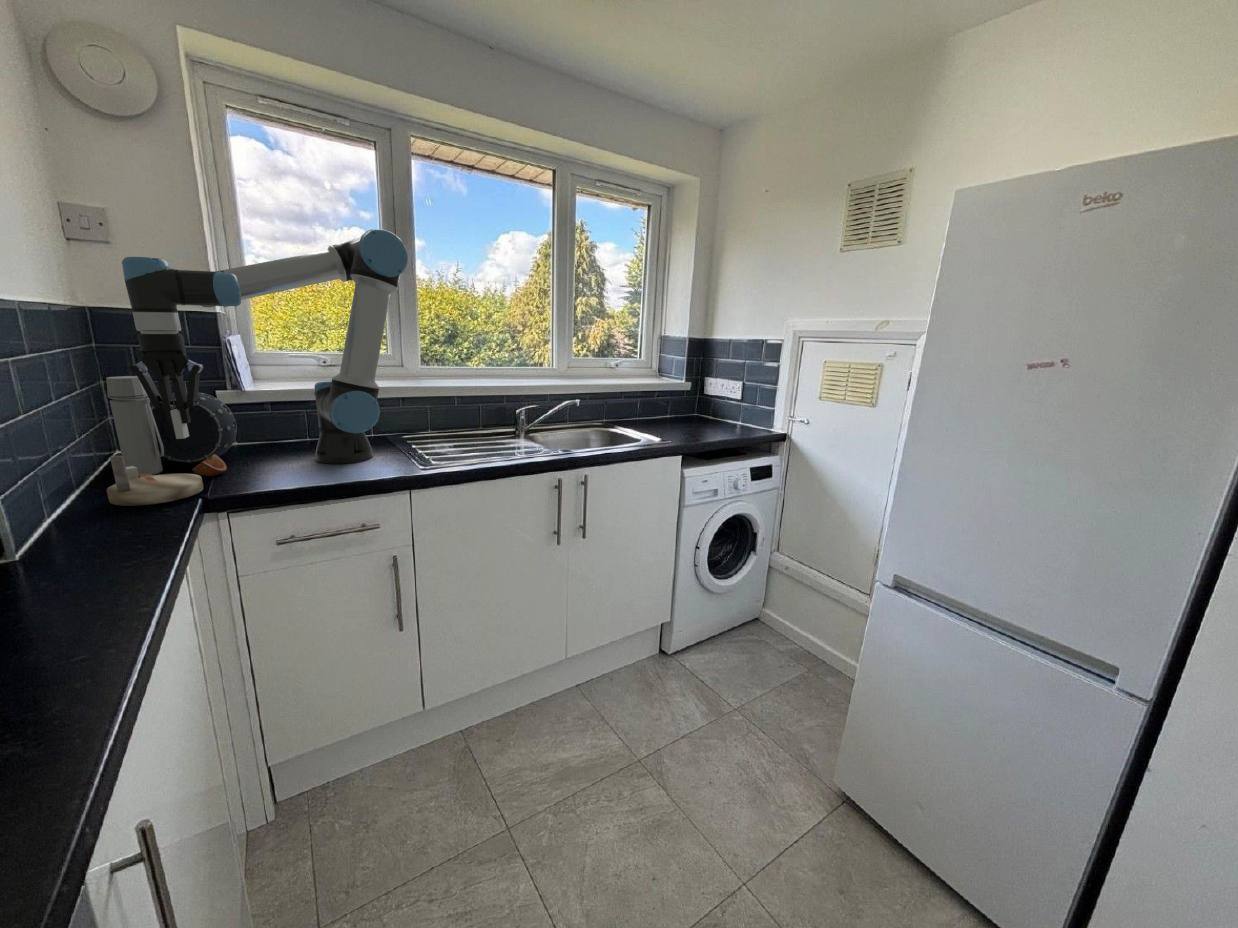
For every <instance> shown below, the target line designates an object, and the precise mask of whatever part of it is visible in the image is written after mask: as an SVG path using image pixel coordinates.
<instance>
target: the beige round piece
mask: <svg viewBox="0 0 1238 928" xmlns="http://www.w3.org/2000/svg"><path fill="white" fill-rule="evenodd" d="M109 460H110V464H111V468H112V471H113V477H114V482H115V483H114V484H112V485H110V486H109V487H107V488H106V493H107V498H108V503H110V504H112V505H115V506H123V507H126V506H128V507H132V506H133V507H134V506H148V505H149V506H150V505H156V504H162V503H163V504H164V503H169V502H173V501H178V500H181V499H185V498H189V497H191V496H194V495H198V494H199V493H200V492H202V491H203V490H204V483H203V478H202V475H200V474H196V473H165V474H164V473H163V474H157V475H153V476H152V475H151V474H149V473H148V474H141V475H138V477H139V478H136V479H131V480H128V475H127V471H126V467H125V462H124V458H123V456H122V455H115V456H114V455H113V456H111V457H109Z"/></svg>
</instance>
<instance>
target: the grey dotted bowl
mask: <svg viewBox="0 0 1238 928" xmlns="http://www.w3.org/2000/svg"><path fill="white" fill-rule="evenodd" d="M187 392H188V391H186V396H187ZM172 395H173V400H174V404H175V406H176V408H178V407H177V402H176V398H175V393H174V392H172ZM150 407H151V410H152V413H153V416H154V419H155V422H156V425H157V428H158V431H159V434H160V437H161V440H162V443H163V446H164V456H163V457H165V458H166V459H168V460H169V461H170V462H179V463H182V464H190V465H198V464H200V463H202V462H203V461H204V460H206V458H209V457H210V456H212V455H214V454H215V455H217V456H218V457H219V458H220V457H221V456H222V455H224V454H225V453H226V452H227V451H229V449H230V448H231V447H232V445H234V442H235V440H236V437H237V433H238V426H237V420H236V418H235V415H234V414H233V412H232V411H231V409H230V408H229V407H228V406H227V404H226V403H224V402H223V401H221V400H220V399H218V398H217V397H214V396H213V395H210V394H207V393H204V392H200V391H198V402H197V405H195V406H192V407H190V408H189V414H190V419H191V421H190V423H187V428H188V432H189V436H188V437H186V438H184V439H176V435H175V430H174V426H173V424H169V423H168V421H167V416H166V412H165V410H164V409H161V408H155V407H154V406H153V405H152V404H150ZM176 408H174V409H176ZM153 425H154V424H153ZM154 429H155V427H154ZM155 434H156V431H155ZM156 439H157V444H158V449H159V454H160V455H161V446H160V443H159V440H158V437H157V434H156Z"/></svg>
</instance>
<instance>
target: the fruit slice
mask: <svg viewBox="0 0 1238 928" xmlns="http://www.w3.org/2000/svg"><path fill="white" fill-rule="evenodd" d="M226 470H228V468H227V464H226V462H225V461H224V460H223V459H222V458H221V457H220V456H219V457H218V456H217V455H215V454H214V455H212V456H210V457H209V458H206V460H204V461H203V462H202V463H197V464H196V466H195V467H193V468H192V472H194V474H196V475H199V476H204V477H205V476H206V477H215V475H216V476H218V475H219V476H220V475H221V474H223V473H224V472H225V471H226Z"/></svg>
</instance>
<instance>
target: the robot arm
mask: <svg viewBox="0 0 1238 928" xmlns="http://www.w3.org/2000/svg"><path fill="white" fill-rule="evenodd" d="M408 253H409V252H408V251H407V247H406V245H405V244H404V242H403V240H402V239H401V238H400V237H398V236H397V234H395V233H393V232H391V231H389V230H386V229H383V228H380V229H379V228H378V229H377V228H373V229H369V230H366V231H365V232H364V233H362V234H359V235H357V236H355V237H353V238H350V239H349V240H346V241H343V242H340V243H336V244H331V245H329V246H328V248H327V249H326V250H322V251H317V252H316V251H315V252H311V253H306V254H300V255H296V256H289V257H285V258H284V257H283V258H279V259H273V260H269V261H264V262H259V263H253V264H248V265H243V266H237V267H232V268H231V267H230V268H227V269H223V270H215V271H209V270H190V269H189V270H188V269H186V270H185V269H174V268H170V267H171V266H169V264H168V261H167V260H165V259H163V258H157V257H147V256H126V257H124V258H123V259H122V261H121V265H122V271H123V277H124V283H125V287H126V291H127V296H128V299H129V303H130V307H131V310H132V315H133V321H134V327H135V330H136V331H137V332H140V333H138V335H137V339H138V342H139V346H140V351H141V356H140V361H139V362H138V363H136V364H133V365H130V366H129V370H130V371H131V372H132V373H133V374H134V376H137V377H138V379H139V380H140V382H141V384H142V386H143V388H144V390H145V392H146V393H147V395H148V396H147V397H148V398H149V399H150V404H151V405H153V406H154V407H155V408H161V409H164V410H165V412H166V416H167V421H168V423H169V424H173V426H174V430H175V435H176V439H184V438H186V437H188V436H189V432H188V428H187V423H190V421H191V419H190V414H189V408H190V407H192V406H195V405H197V402H198V392H200V391H199V389H200V377H201V373H202V371H203V370H204V368H205V367H204V365H203V364H201V363H198V362H196V361H193V360H191V358H190V356H189V355H188V354H187V350H186V345H185V339H184V335H182V334H181V333H179V332H181V331H182V325H181V321H180V317H179V312H178V308H177V307H178V306H197V307H198V306H200V307H203V308H214V307H223V308H228V307H239V306H240V305H241V304H242V301H243V300H248V299H252V298H257V297H261V296H265V295H271V294H276V293H280V292H284V291H290V290H293V289H298V288H304V287H308V286H313V285H318V284H322V283H326V282H332V281H336V280H340V281H341V282H349V281H353V282H354V291H353V297H352V301H351V306H350V307H351V308H350V313H349V319H348V324H347V330H346V335H345V341H344V342H345V343H344V345H343V346H344V348H343V352H342V359H341V364H340V370H339V373H338V374H336V375H335V376H333V377H332V378H331V381H319V382H315V384H314V392H313V394H314V396H315V404H316V406H315V407H316V414H317V421H318V428H319V429H318V430H319V435H318V436H319V437H318V441H317V443H316V444H317V445H316V449H315V461H316V462H318V463H322V464H329V465H330V464H333V465H334V464H335V465H336V464H349V463H351V464H352V463H356V462H362V461H365V460H369V459H371V458H372V457H374V455H373V448H372V446H371V444H370V441H369V439H368V437H367V436H366V435H367V434H366V433H365V432H367V431H370V430H371V429H372V428H374V426H375V425H376V424H377V423H378V421H379V418H380V414H381V411H380V409H381V408H380V405H379V403H378V396H379V390H380V386H379V385H378V384H377V382H376V375H377V374H376V373H377V369H378V363H379V357H380V353H381V352H380V351H381V349H382V348H381V347H382V340H383V336H384V331H385V330H384V329H385V325H386V319H387V314H388V308H389V304H390V298H391V294H392V293H394V292H396V291H398V288H399V284H400V279H401V274H403V273H404V271H405V270H406V268H407V266H408V263H409V254H408ZM177 305H178V306H177ZM186 368H188V371H189V374H188V380H187V383H188V384H187V391H186V387H185V384H184V382H185V381H184V372H185V370H186ZM148 370H150V371H151V372H152V373H154V376H155V379H156V381H157V385H158V388H157V386H156V384H155V383H154V380H153V379H152V376H151V375H150V373H149V372H148ZM170 380H171V382H170ZM171 385H172V386H171ZM158 389H159V390H158ZM172 389H173V391H172ZM186 392H187V396H186ZM172 393H175V398H176V402H177V407H178V408H176V406H175V404H174V400H173V395H172ZM174 408H176V409H174Z"/></svg>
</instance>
